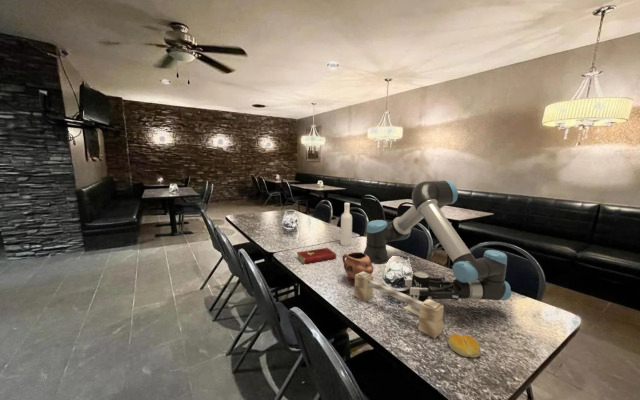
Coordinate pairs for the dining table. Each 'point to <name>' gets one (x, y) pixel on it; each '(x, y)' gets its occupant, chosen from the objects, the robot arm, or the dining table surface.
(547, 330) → the dining table surface
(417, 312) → the pad
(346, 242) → the bottle
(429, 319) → the handrail
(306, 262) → the hardcover book
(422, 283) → the beverage can
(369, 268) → the brown sculpted mug
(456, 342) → the bread roll
